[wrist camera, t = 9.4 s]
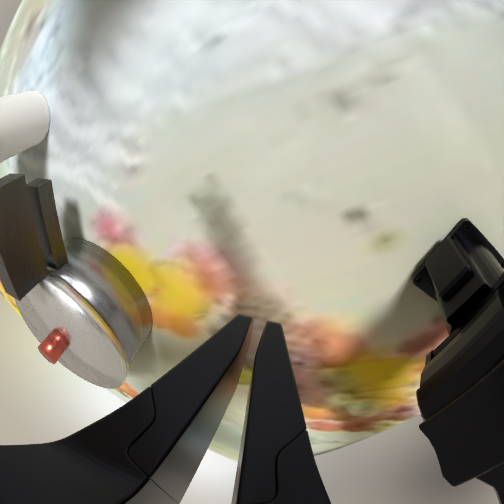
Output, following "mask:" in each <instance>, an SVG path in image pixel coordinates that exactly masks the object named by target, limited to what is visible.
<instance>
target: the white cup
mask: <svg viewBox="0 0 504 504" xmlns="http://www.w3.org/2000/svg"><path fill="white" fill-rule="evenodd" d="M49 123H50V111H49V106H48V103H47V100H46V98H45V96H44V95H43V94H42V93H41V92H38V91H30V92H24V93H19V94H13V95H8V96H4V97H0V163H1V162H3V161H4V160H6V159H8V158H10V157H12V156H14V155H16V154H18V153H20V152H22V151H24V150H26V149H29V148H31V147H33V146H35V145H37V144H40V143H41V142H42V141H43V140H44V139H45V137H46V135H47V132H48V130H49Z"/></svg>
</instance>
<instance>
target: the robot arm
mask: <svg viewBox="0 0 504 504" xmlns="http://www.w3.org/2000/svg"><path fill="white" fill-rule="evenodd" d="M465 224H467V227H465V228H464V225H465ZM500 263H501V264H500ZM503 269H504V259H503V257H502V256H501V255H500V254H499V253H498V251H497V250H496V249H495V248H494V247H493V246H492V244H491V243H490V242H489V241H488V240H487V239H486V238H485V237H484V235H483V234H482V233H481V232H480V231H479V230H478V229H477V228H476V227H475V226H474V225H473V224H472V223H471V222H470V220H469V219H467V218H464V219H462V220H461V221H460V222H459V223H458V225H457V226H456V227H455V228H454V229H453V231H452V232H451V233H450V234H449V235H448V236H447V237H446V238H445V239H444V240H443V241H442V242H441V243H440V245H439V246H438V247H437V248H436V249H435V250H434V251H433V252H432V254H431V255H430V256H429V257H428V258H427V259H426V260H425V262H424V263H423V264H422V266H421V267H420V268H419V269H418V270H417V271H416V272H415V273H414V274H413V276H412V281H413V283H414V284H415V285H416V286H417V287H419V288H420V289H421V290H423V291H424V292H425V293H427V294H428V295H429V296H431V297H432V298H433V299H435V300H436V301H437V302H438V304H439V307H440V309H441V312H442V315H443V318H444V321H445V324H446V327H447V330H448V334H449V336H448V337H447V338H446V339H445V340H444V341H443V342H442V343H441V344H440V345H439V346H438V347H437V348H436V349H435V350H434V351H433V350H432V351H431V352H430V353H429V354H428V355H427V356H426V362H425V367H424V369H423V371H422V373H421V381H420V388H419V389H418V390H417V392H416V396H417V401H418V406H419V409H420V412H421V416H422V418H423V420H424V422H422V423H421V424H420V425H419V428H420V430H421V431H422V432H423V433H424V434H425V435H426V437H427V438H428V439H429V440H430V442H431V444H432V446H433V447H434V449H435V452H436V454H437V457H438V460H439V464H440V467H441V471H442V475H443V477H444V478H445V479H446V480H447V481H448V482H449V483H450V484H451V485H452V486H458V485H460V484H463V483H465V482H467V481H469V480H471V479H473V478H476V479H478V480H480V481H482V482H484V483H485V484H488V485H489V486H492V487H493V488H494V490H495V492H496V494H497V497H498V500H499V503H500V504H504V270H503ZM418 277H421V278H420V279H419V280H416V279H417V278H418ZM252 326H253V318H252V317H251V316H247V315H243V314H238V315H237V316H236V317H234V318H233V319H232V320H231V321H230V322H228V323H227V324H226V325H225V326H224V327H223V328H221V329H220V330H219V331H218V332H217V333H215V334H214V335H213V336H212V337H210V338H209V339H208V340H207V341H206V342H204V343H203V344H202V345H201V346H199V347H198V348H197V349H196V350H195V351H193V352H192V353H191V354H190V355H188V356H187V357H186V358H185V359H183V360H182V361H181V362H180V363H178V364H177V365H176V366H175V367H173V368H172V369H171V370H170V371H168V372H167V373H166V374H165V375H163V376H162V377H161V378H160V379H158V380H157V381H156V382H154V383H153V384H152V385H151V387H148V388H147V389H145V390H144V391H143V392H141V393H140V394H139V395H137V396H136V397H135V398H133V399H132V400H130V401H129V402H128V403H126V404H125V405H123V406H122V407H120V408H119V409H117V410H115V411H114V412H112V413H111V414H109V415H107V416H105V417H104V418H102V419H100V420H98V421H96V422H94V423H93V424H91V425H89V426H87V427H85V428H83V429H81V430H80V431H78V432H76V433H74V434H72V435H70V436H68V437H66V438H63V439H61V440H58V441H54V442H50V443H43V444H29V445H0V504H179V503H180V502H181V500H182V498H183V496H184V494H185V492H186V490H187V488H188V486H189V484H190V482H191V481H192V478H193V477H194V475H195V473H196V471H197V469H198V467H199V465H200V463H201V461H202V459H203V456H204V455H205V453H206V451H207V449H208V447H209V445H210V443H211V441H212V438H213V436H214V434H215V432H216V430H217V428H218V426H219V424H220V422H221V420H222V418H223V415H224V413H225V411H226V409H227V407H228V405H229V403H230V401H231V398H232V396H233V394H234V392H235V389H236V386H237V383H238V380H239V377H240V374H241V370H242V367H243V364H244V360H245V357H246V353H247V350H248V347H249V343H250V339H251V333H252ZM231 504H331V502H330V500H329V497H328V495H327V492H326V490H325V487H324V485H323V482H322V479H321V477H320V474H319V471H318V468H317V465H316V462H315V459H314V455H313V451H312V448H311V444H310V440H309V436H308V432H307V431H306V423H305V419H304V415H303V411H302V407H301V402H300V398H299V394H298V390H297V386H296V381H295V377H294V373H293V369H292V365H291V361H290V357H289V352H288V348H287V344H286V340H285V336H284V332H283V328H282V325H281V324H280V323H277V322H273V321H267V322H266V324H265V327H264V330H263V333H262V336H261V339H260V342H259V345H258V348H257V352H256V355H255V361H254V367H253V372H252V378H251V383H250V389H249V394H248V400H247V406H246V413H245V420H244V427H243V433H242V440H241V447H240V453H239V459H238V466H237V472H236V478H235V485H234V491H233V497H232V503H231Z"/></svg>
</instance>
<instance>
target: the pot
mask: <svg viewBox="0 0 504 504" xmlns="http://www.w3.org/2000/svg"><path fill="white" fill-rule="evenodd" d="M26 187H27V193H28V198H29V203H30V207H31V212H32V216H33V220H34V224H35V228H36V232H37V236H38V240H39V243H40V247H41V250H42V254H43V257H44V260H45V263H46V266H47V269H48V271H49V272H51V273H53V274H54V275H56V276H57V277H59V278H60V279H61V280H63V281H64V282H65V283H67V284H68V285H69V286H70V287H71V288H73V289H74V290H75V291H76V292H77V293H78V294H79V295H80V296H81V297H82V298H83V299H84V300H85V301H86V302H87V303H88V304H89V305H90V306H91V307H92V308H93V309H94V310H95V311H96V312H97V313H98V315H99V316H100V317H101V318H102V319H103V320H104V322H105V323H106V324H107V325H108V327H109V328H110V329H111V331H112V332H113V334H114V335H115V336H116V338H117V340H118V341H119V343H120V344H121V346H122V348H123V350H124V352H125V354H126V357H127V360H128V363H129V364H130V362H131V361H132V359H133V358H134V356H135V355H136V353H137V351H138V350H139V348H140V347H141V345H142V344H143V342H144V341H145V339H146V338H147V336H148V335H149V333H150V331H151V328H152V313H151V309H150V306H149V303H148V301H147V299H146V297H145V295H144V293H143V291H142V289H141V288H140V286H139V284H138V283H137V282H136V280H135V279H134V277H133V276H132V275H131V274H130V273H129V271H128V270H127V269H126V268H125V267H124V266H123V265H122V264H121V263H120V262H119V261H118V260H117V259H116V258H115V257H114V256H112V255H111V254H110V253H108V252H107V251H106V250H104V249H103V248H101V247H99V246H98V245H96V244H94V243H92V242H89V241H86V240H82V239H69V240H66V241H64V242H63V238H62V234H61V230H60V225H59V220H58V216H57V211H56V205H55V200H54V194H53V188H52V181H51V180H48V179H36V180H35V181H33V182H31V183H29V184H27V185H26Z"/></svg>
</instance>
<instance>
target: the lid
mask: <svg viewBox="0 0 504 504" xmlns="http://www.w3.org/2000/svg"><path fill="white" fill-rule="evenodd" d="M0 280H1V282H2V285H3V287H4V289H5V292H6V293H8V294H9V295H11V296H12V297H14V299H15V302H16V304H17V307H18V309H19V311H20V313H21V315H22V317H23V319H24V321H25V322H26V324H27V325H28V327H29V329H30V330H31V331H32V333H33V334H34V336H35V337H36V338H37V339H38V341H39V342H40V343H41V344H40V345H39V346H38V349H39V351H40V353H41V354H42V355H43V356H44V357H45V358H46V359H47V360H48V361H49V362H51V363H53V364H55V363H56V362H57V360H58V361H59V362H60V363H61V364H62V365H64V366H65V367H66V368H68V369H69V370H70V371H72V372H73V373H75V374H76V375H78V376H79V377H81V378H83V379H84V380H87V381H88V382H90V383H92V384H95V385H97V386H100V387H104V388H111V389H113V388H118V387H120V386H121V385H122V384H123V382H124V380H125V379H126V377H127V375H128V374H129V363H128V360H127V357H126V354H125V352H124V350H123V348H122V346H121V344H120V343H119V341H118V340H117V338H116V336H115V335H114V334H113V332H112V331H111V329H110V328H109V327H108V325H107V324H106V323H105V322H104V320H103V319H102V318H101V317H100V316H99V315H98V313H97V312H96V311H95V310H94V309H93V308H92V307H91V306H90V305H89V304H88V303H87V302H86V301H85V300H84V299H83V298H82V297H81V296H80V295H79V294H78V293H77V292H76V291H75V290H74V289H73V288H71V287H70V286H69V285H68V284H67V283H65V282H64V281H63V280H61V279H60V278H59V277H57V276H56V275H54V274H53V273H51V272H49V271H48V269H47V266H46V263H45V260H44V257H43V254H42V250H41V247H40V243H39V240H38V236H37V232H36V228H35V224H34V220H33V216H32V212H31V207H30V203H29V198H28V193H27V187H26V182H25V176H24V175H22V174H9V175H7V176H5V177H3V178H1V179H0Z"/></svg>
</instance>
